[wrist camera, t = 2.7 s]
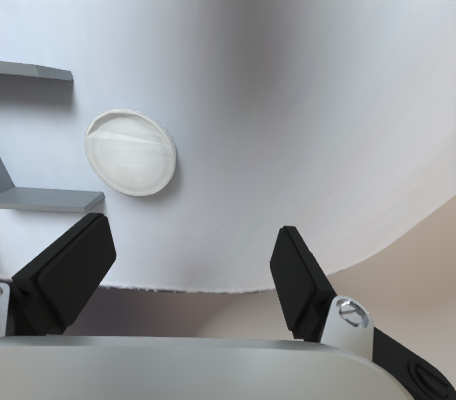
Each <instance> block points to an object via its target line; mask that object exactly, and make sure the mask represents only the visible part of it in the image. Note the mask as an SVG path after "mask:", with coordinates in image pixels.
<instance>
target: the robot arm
mask: <svg viewBox="0 0 456 400" xmlns="http://www.w3.org/2000/svg"><path fill="white" fill-rule="evenodd" d="M115 260H116V251H115V247H114V242H113V238H112V234H111V230H110V226H109V222H108V218H107V217H106V216H104V214H102V213H88V214H87V215H86V216H84V217H83V218H82V219H81V220H80V221H78V222H77V223H76V224H75V225H74V226H72V227H71V228H70V229H69V230H68V231H66V232H65V233H64V234H63V235H62V236H60V237H59V238H58V239H57V240H56V241H54V242H53V243H52V244H51V245H50V246H49V247H47V248H46V249H45V250H44V251H43V252H41V253H40V254H39V255H38V256H37V257H35V258H34V259H33V260H32V261H31V262H29V263H28V264H27V265H26V266H25V267H23V268H22V269H21V270H20V271H19V272H17V273H16V274H15V275H14V276H13V277H11V278H12V280H13V282H12V283H11V284H9V285H7V284H5V283H0V400H456V391H455V389H454V387H453V386H452V385H451V383H450V382H449V381H448V380H447V379H446V377H445V376H444V375H443V374H442V373H441V372H440V371H439V370H437V369H436V368H435V367H434V366H432V365H431V364H430V363H428V362H427V361H425V360H424V359H422V358H421V357H419V356H418V355H416V354H415V353H413V352H412V351H410V350H409V349H407V348H406V347H404V346H403V345H401V344H400V343H398V342H397V341H395V340H394V339H392V338H390V337H389V336H388V335H386V334H384V333H383V332H382V331H380V330H378V329H377V328H376V327H374V324H373V320H372V317H371V315H370V314H369V313H368V311H367V310H366V309H365V308H364V307H363V306H362V305H361V304H360V303H358V302H357V301H355V300H353V299H351V298H349V297H346V296H337V294H336V293H335V291H334V289H333V288H332V286H331V284H330V283H329V281H328V279H327V278H326V276H325V274H324V273H323V271H322V269H321V268H320V266H319V264H318V263H317V261H316V259H315V258H314V256H313V254H312V253H311V252H310V251H309V249H308V247H307V246H306V244H305V242H304V241H303V239H302V237H301V236H300V234H299V232H298V230H297V229H296V227H294V226H284V227H283V228H280V230H279V234H278V237H277V240H276V244H275V247H274V251H273V254H272V257H271V261H270V269H271V273H272V276H273V280H274V283H275V286H276V290H277V293H278V297H279V300H280V303H281V307H282V310H283V314H284V317H285V320H286V324H287V327H288V329H289V331H292V333H293V336H294V339H303V340H304V341H286V340H264V339H262V340H261V339H222V338H221V339H220V338H219V339H218V338H172V337H170V338H169V337H108V336H106V337H105V336H46V334H47V333H48V334H57V335H62V334H63V333H64V331H65V330H66V328H67V327H68V326H70V325H72V324H73V323H74V321H75V320H76V318H77V317H78V315H79V313H80V312H81V311H82V309H83V308H84V306H85V305H86V303H87V302H88V300H89V299H90V297H91V296H92V294H93V293H94V291H95V290H96V288H97V287H98V285H99V284H100V283H101V281H102V280H103V278H104V277H105V275H106V274H107V272H108V271H109V269H110V268H111V266H112V265H113V263H114V262H115Z"/></svg>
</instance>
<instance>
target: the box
mask: <svg viewBox="0 0 456 400" xmlns="http://www.w3.org/2000/svg"><path fill="white" fill-rule="evenodd" d="M0 74H8V75H18V76H29V77H39V78H49V79H59V80H70V81H73V78H72V74H71V71H66V70H60V69H55V68H50V67H45V66H39V65H33V64H23V63H13V62H3V61H0ZM103 198H105V197H104V193H103V192H91V191H74V190H57V189H40V188H23V187H15V186H14V184H13V182H12V180H11V178H10V176H9V175H8V173H7V171H6V169H5V167H4V165H3V163H2V161H1V159H0V209H16V210H36V211H55V212H75V213H87V212H88V211H89V210H90V209H91V208H93V207H94V206H95V205H96V204H97V203H99V202H100V201H101V200H102V199H103Z"/></svg>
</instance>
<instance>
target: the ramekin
mask: <svg viewBox="0 0 456 400" xmlns="http://www.w3.org/2000/svg"><path fill="white" fill-rule="evenodd" d="M85 151H86V155H87V158H88V160H89V163H90V165H91V167H92V168H93V170H94V171H95V173H96V174H97V175H98V176H99V177H100V178H101V179H102V180H103V181H104V182H105V183H106V184H107V185H109V186H110V187H112V188H113V189H115V190H117V191H119V192H121V193H124V194H128V195H132V196H147V195H151V194H154V193H157V192H158V191H160V190H161V189H163V188H164V187H165V186H166V185H167V184H168V183H169V181H170V180H171V178H172V176H173V174H174V171H175V167H176V146H175V143H174V141H173V138H172V136H171V134H170V133H169V132H168V130H167V129H166V128H165V127H164V126H163V125H162V124H161V123H160V122H158V121H157V120H155V119H153V118H152V117H150V116H148V115H146V114H144V113H142V112H139V111H136V110H132V109H125V108H118V109H111V110H107V111H105V112H103V113H101V114H99V115H98V116H97V117H95V118H94V119H93V120H92V122H91V123H90V125H89V126H88V128H87V131H86V135H85Z"/></svg>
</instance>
